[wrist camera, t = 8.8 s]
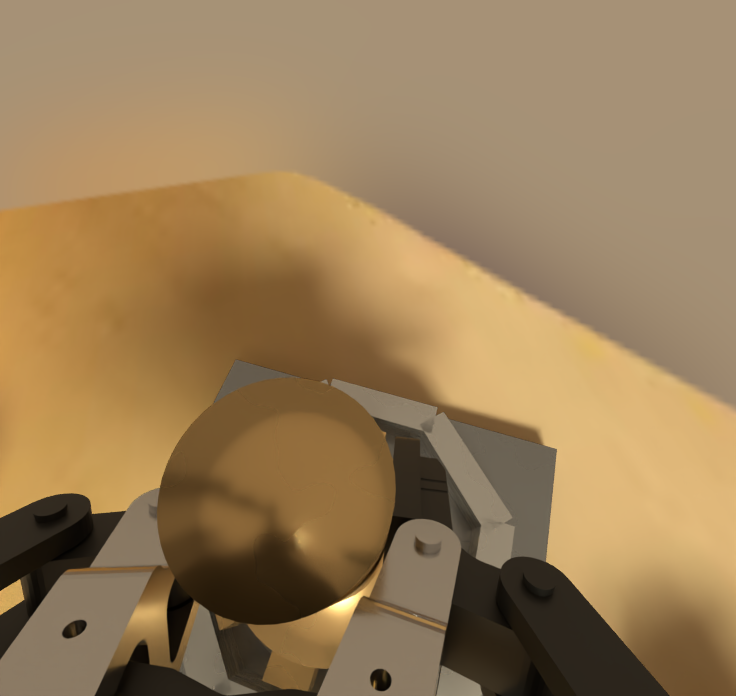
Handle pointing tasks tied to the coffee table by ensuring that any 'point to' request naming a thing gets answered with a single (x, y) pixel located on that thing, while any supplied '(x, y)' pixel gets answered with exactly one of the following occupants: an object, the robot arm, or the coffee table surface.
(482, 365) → the coffee table surface
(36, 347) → the coffee table surface
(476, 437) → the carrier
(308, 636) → the gear
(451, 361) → the coffee table surface
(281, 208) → the coffee table surface
